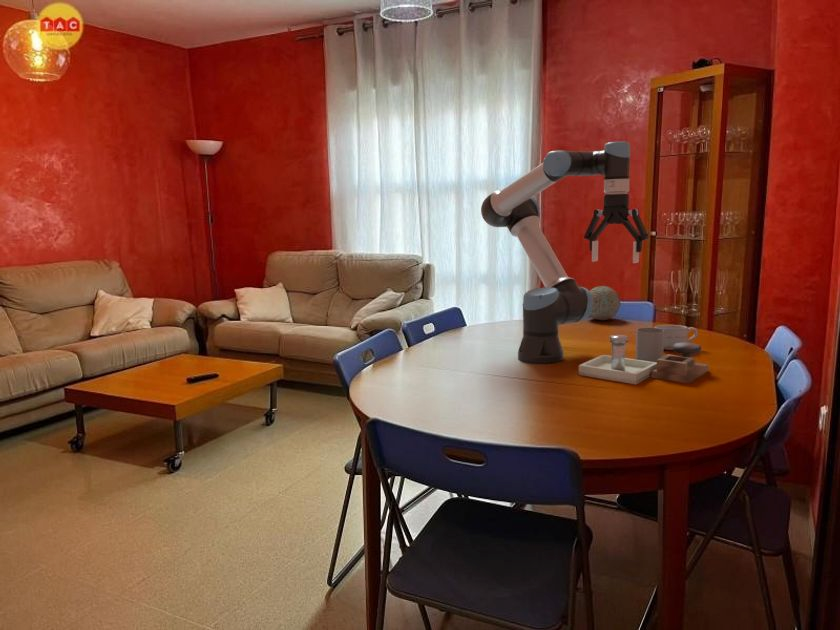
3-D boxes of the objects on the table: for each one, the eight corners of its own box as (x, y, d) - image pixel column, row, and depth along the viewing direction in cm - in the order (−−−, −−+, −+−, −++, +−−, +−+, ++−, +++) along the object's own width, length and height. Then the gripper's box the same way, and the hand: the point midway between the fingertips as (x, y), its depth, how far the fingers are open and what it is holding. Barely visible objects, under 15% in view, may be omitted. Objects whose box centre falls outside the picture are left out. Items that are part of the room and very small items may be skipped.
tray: (578, 374, 193) (578, 365, 192) (602, 363, 205) (602, 354, 204) (636, 384, 181) (636, 374, 180) (658, 372, 193) (658, 362, 192)
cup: (664, 363, 203) (665, 333, 201) (637, 363, 204) (638, 332, 202) (660, 357, 211) (661, 327, 209) (634, 356, 212) (635, 327, 211)
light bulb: (606, 370, 192) (606, 337, 191) (613, 367, 196) (614, 334, 194) (622, 373, 189) (623, 339, 187) (629, 369, 193) (630, 336, 191)
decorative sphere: (585, 323, 271) (586, 288, 269) (582, 316, 286) (583, 283, 283) (622, 323, 269) (623, 288, 266) (617, 316, 283) (618, 283, 281)
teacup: (653, 351, 219) (654, 328, 218) (654, 344, 229) (655, 322, 228) (697, 353, 214) (698, 330, 212) (696, 346, 224) (697, 324, 222)
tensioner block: (651, 377, 188) (651, 351, 186) (672, 365, 200) (673, 340, 199) (689, 383, 180) (690, 356, 179) (709, 370, 193) (710, 344, 191)
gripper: (573, 194, 202) (573, 261, 205) (651, 192, 185) (648, 264, 189) (585, 194, 207) (584, 259, 211) (661, 191, 191) (658, 262, 194)
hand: (614, 262), depth 200 cm, fingers open, 13 cm apart
